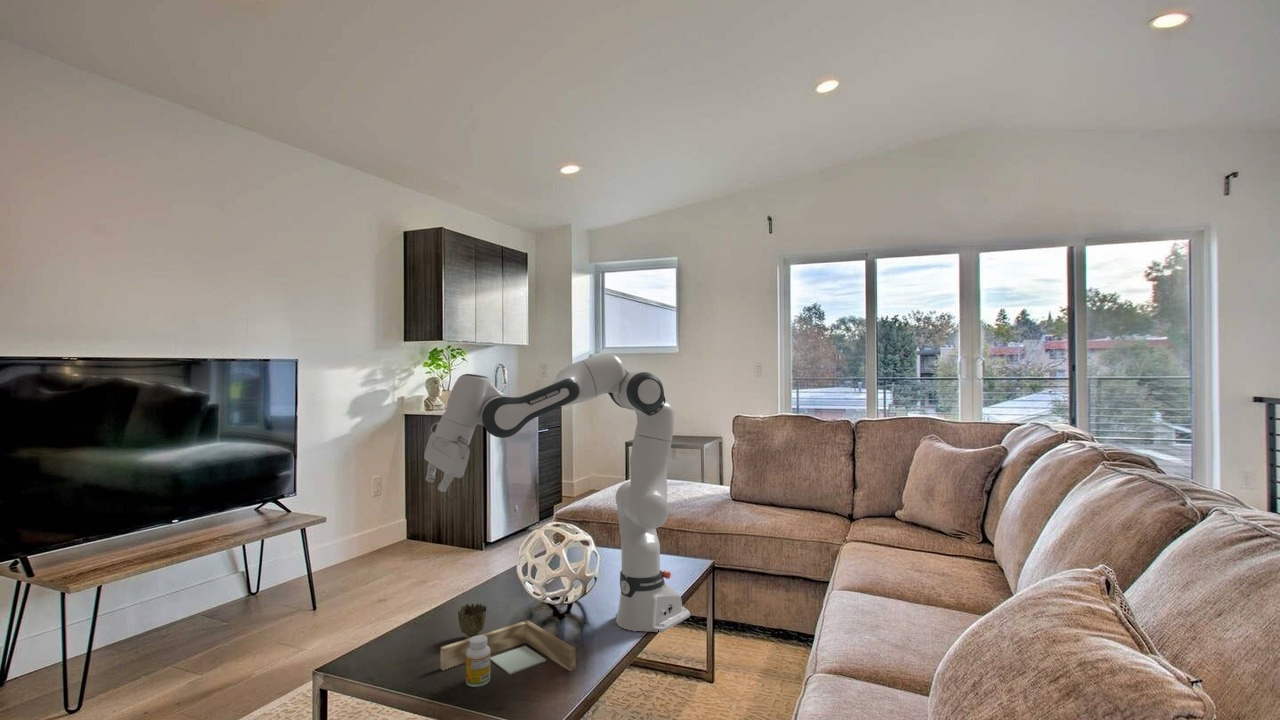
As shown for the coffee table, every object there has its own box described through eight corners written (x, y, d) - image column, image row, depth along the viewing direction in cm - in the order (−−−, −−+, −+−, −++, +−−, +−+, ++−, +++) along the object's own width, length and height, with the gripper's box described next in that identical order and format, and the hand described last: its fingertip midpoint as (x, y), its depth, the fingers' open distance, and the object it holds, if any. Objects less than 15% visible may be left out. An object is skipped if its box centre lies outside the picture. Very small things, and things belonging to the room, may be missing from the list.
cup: (478, 645, 153) (478, 614, 153) (452, 643, 154) (452, 612, 155) (491, 633, 160) (491, 604, 161) (466, 631, 162) (466, 602, 162)
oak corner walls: (527, 639, 157) (527, 620, 157) (575, 669, 141) (575, 648, 141) (440, 668, 141) (440, 647, 141) (482, 706, 125) (482, 682, 125)
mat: (525, 647, 152) (525, 645, 152) (546, 661, 145) (546, 659, 145) (489, 659, 146) (489, 657, 146) (509, 674, 138) (509, 672, 138)
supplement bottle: (468, 676, 137) (469, 634, 138) (492, 675, 138) (492, 633, 138) (463, 688, 132) (464, 644, 132) (488, 687, 133) (488, 643, 133)
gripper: (481, 444, 144) (461, 499, 142) (451, 429, 160) (433, 479, 158) (457, 438, 140) (437, 494, 138) (430, 423, 156) (411, 474, 154)
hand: (435, 486), depth 148 cm, fingers open, 8 cm apart
